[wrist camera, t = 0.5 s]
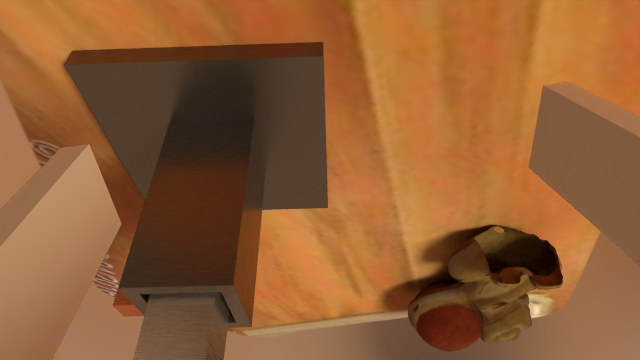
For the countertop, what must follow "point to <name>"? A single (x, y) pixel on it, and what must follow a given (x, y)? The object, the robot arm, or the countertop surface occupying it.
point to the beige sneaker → (486, 290)
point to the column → (184, 327)
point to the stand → (208, 157)
